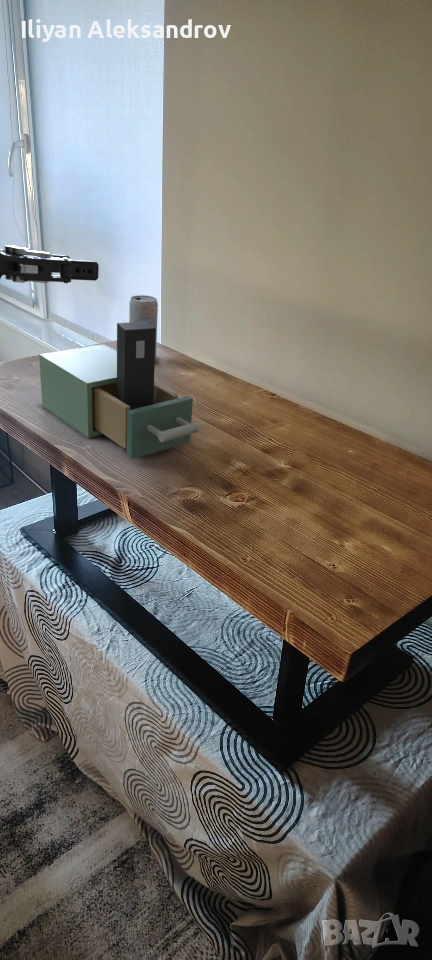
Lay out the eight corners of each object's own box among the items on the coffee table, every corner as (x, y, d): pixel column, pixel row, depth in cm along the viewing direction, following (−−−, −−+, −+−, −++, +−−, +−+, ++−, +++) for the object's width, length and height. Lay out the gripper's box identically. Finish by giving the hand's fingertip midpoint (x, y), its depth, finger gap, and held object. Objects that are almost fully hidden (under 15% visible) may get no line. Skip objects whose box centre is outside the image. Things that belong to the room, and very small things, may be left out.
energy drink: (139, 353, 127) (140, 293, 121) (161, 359, 125) (163, 298, 119) (123, 359, 123) (123, 298, 117) (145, 366, 121) (146, 303, 115)
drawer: (208, 452, 89) (212, 408, 86) (149, 472, 83) (150, 425, 79) (138, 410, 100) (139, 370, 97) (81, 425, 94) (80, 382, 90)
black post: (112, 421, 93) (111, 321, 86) (145, 417, 95) (147, 319, 88) (123, 435, 89) (124, 332, 82) (157, 431, 91) (161, 330, 84)
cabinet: (152, 421, 99) (153, 369, 95) (88, 438, 92) (87, 383, 88) (103, 392, 108) (103, 343, 104) (42, 405, 101) (39, 354, 97)
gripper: (-34, 228, 65) (109, 240, 74) (-67, 221, 75) (61, 233, 84) (-30, 302, 67) (106, 305, 77) (-63, 286, 78) (61, 290, 87)
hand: (82, 267), depth 80 cm, fingers open, 8 cm apart
